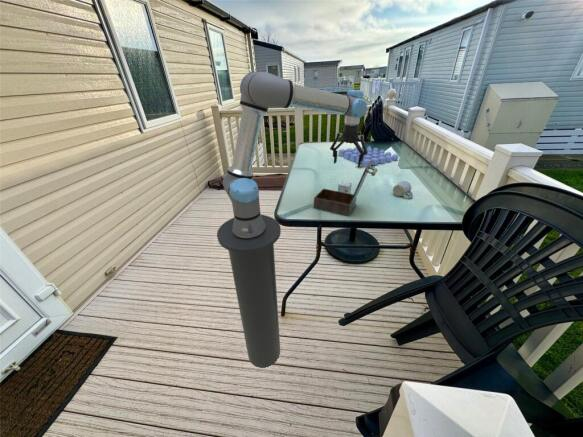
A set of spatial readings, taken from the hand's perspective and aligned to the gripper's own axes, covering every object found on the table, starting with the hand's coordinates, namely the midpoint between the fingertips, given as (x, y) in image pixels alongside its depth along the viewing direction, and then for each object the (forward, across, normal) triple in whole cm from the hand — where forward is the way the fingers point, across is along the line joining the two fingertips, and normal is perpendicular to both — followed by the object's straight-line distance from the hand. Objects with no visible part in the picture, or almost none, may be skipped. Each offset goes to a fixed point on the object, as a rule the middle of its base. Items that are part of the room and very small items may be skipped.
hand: (346, 164), depth 135 cm
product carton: (+19, 0, 0) cm, 19 cm away
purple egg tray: (+18, +4, -77) cm, 80 cm away
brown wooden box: (+19, 0, +16) cm, 24 cm away
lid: (+2, -12, +16) cm, 20 cm away
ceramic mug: (+18, -31, -15) cm, 39 cm away
